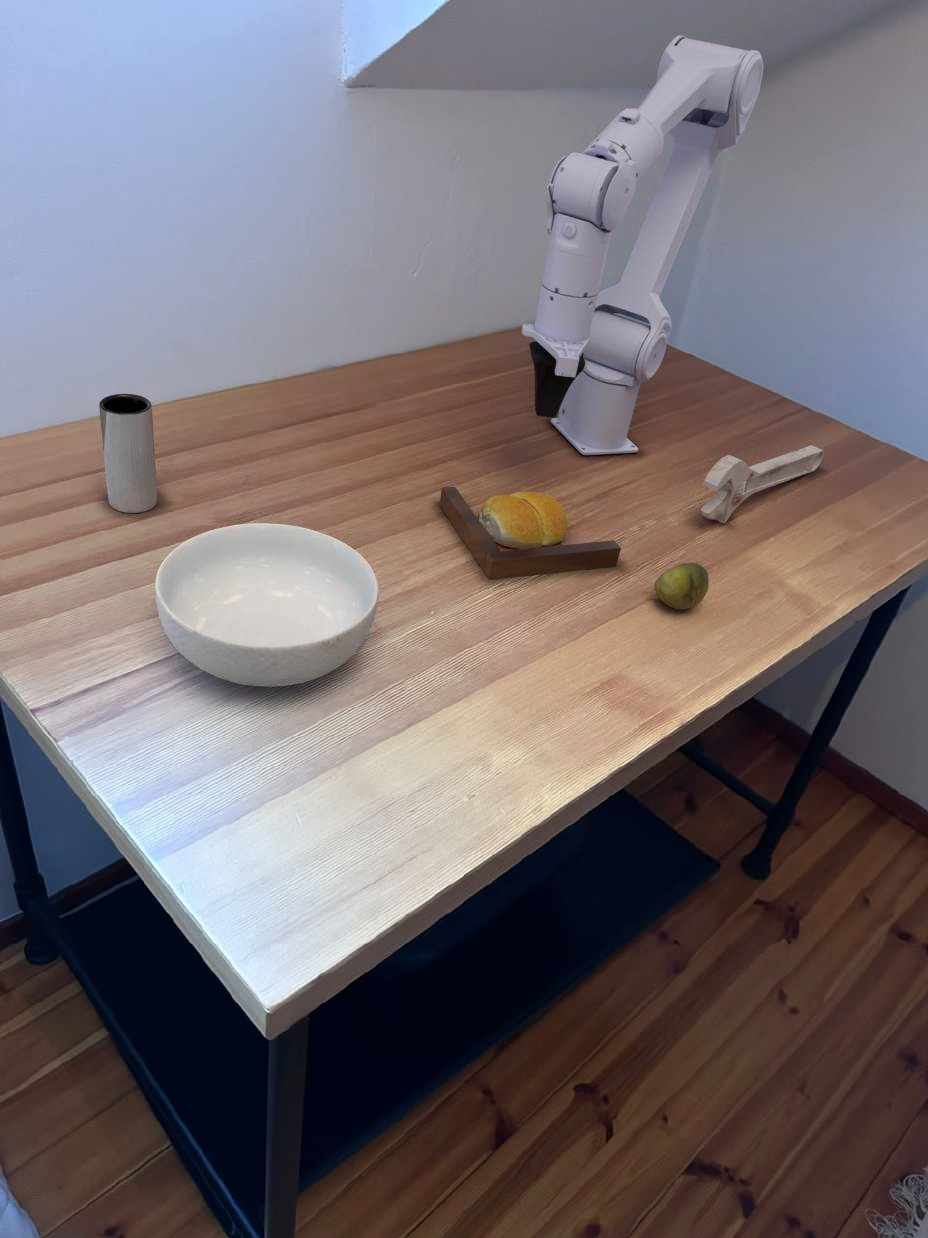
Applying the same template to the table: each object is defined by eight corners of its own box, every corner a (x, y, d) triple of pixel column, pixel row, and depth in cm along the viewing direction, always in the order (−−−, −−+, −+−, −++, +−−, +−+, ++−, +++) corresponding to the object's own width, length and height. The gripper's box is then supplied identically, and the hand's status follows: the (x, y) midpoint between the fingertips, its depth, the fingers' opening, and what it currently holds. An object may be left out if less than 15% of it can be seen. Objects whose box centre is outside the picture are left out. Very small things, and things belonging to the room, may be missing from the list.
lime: (644, 604, 90) (657, 560, 87) (669, 586, 93) (683, 543, 90) (684, 626, 88) (699, 582, 85) (708, 607, 91) (724, 564, 88)
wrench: (809, 489, 122) (699, 535, 101) (797, 483, 123) (685, 527, 102) (835, 430, 118) (726, 466, 97) (822, 425, 119) (710, 459, 98)
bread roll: (579, 543, 97) (587, 509, 95) (507, 558, 93) (514, 523, 91) (534, 504, 103) (541, 471, 100) (464, 516, 99) (470, 483, 96)
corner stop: (439, 505, 100) (441, 487, 98) (556, 497, 105) (560, 479, 104) (489, 579, 90) (492, 560, 88) (616, 566, 95) (621, 547, 94)
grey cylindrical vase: (167, 500, 93) (162, 402, 87) (135, 518, 90) (128, 418, 84) (130, 485, 94) (122, 388, 88) (98, 503, 91) (87, 404, 85)
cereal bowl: (179, 737, 68) (175, 661, 64) (144, 603, 80) (139, 532, 75) (400, 698, 74) (410, 627, 70) (338, 580, 86) (343, 513, 82)
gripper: (525, 261, 99) (504, 382, 107) (536, 307, 88) (512, 439, 96) (590, 269, 100) (565, 390, 108) (610, 316, 88) (580, 447, 96)
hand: (545, 414), depth 102 cm, fingers closed
